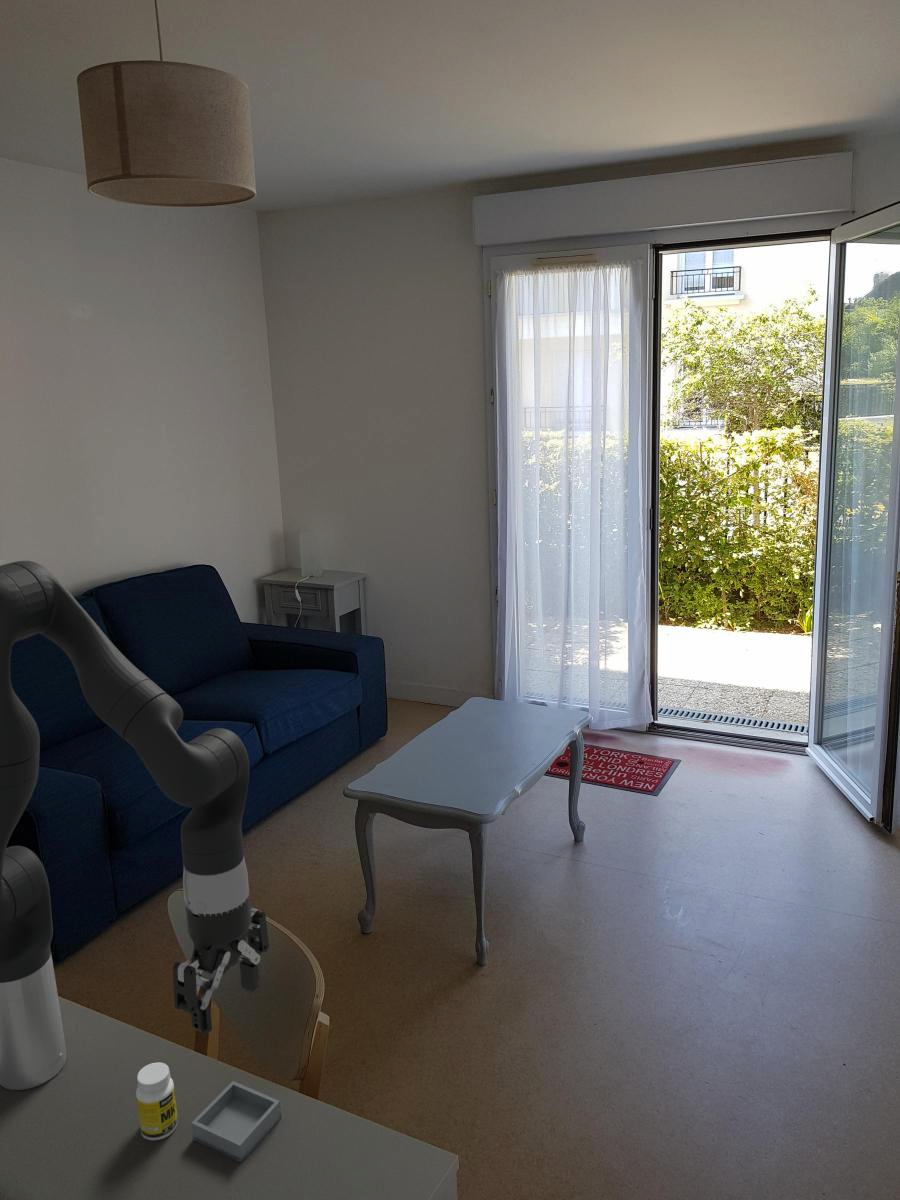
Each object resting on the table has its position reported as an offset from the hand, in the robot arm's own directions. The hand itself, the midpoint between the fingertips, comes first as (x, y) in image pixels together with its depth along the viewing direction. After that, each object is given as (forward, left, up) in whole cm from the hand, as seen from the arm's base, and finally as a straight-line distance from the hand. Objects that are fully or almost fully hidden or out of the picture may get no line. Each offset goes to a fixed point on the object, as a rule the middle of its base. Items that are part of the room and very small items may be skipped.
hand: (227, 1009), depth 115 cm
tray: (-1, +1, -19) cm, 19 cm away
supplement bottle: (-10, -4, -19) cm, 22 cm away
